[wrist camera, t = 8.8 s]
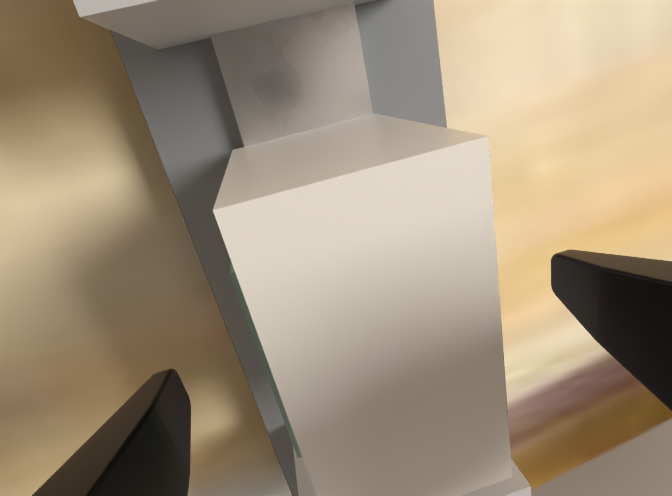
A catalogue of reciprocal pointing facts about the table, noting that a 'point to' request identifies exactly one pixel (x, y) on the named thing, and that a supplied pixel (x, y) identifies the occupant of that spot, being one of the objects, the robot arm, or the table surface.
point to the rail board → (268, 115)
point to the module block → (375, 302)
